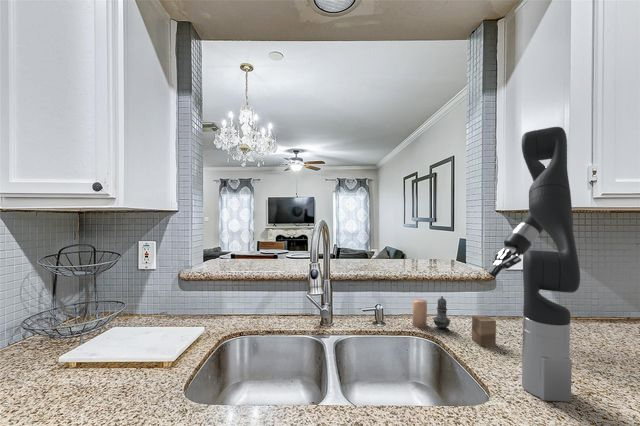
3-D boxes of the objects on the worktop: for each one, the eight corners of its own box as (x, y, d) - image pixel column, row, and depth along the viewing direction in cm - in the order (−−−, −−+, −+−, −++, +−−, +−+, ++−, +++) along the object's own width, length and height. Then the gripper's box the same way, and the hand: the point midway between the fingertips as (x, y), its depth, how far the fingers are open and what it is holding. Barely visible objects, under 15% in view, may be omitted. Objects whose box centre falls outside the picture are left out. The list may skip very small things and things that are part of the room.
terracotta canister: (428, 327, 117) (428, 303, 117) (414, 327, 118) (414, 302, 118) (424, 323, 122) (425, 299, 122) (411, 322, 123) (411, 298, 123)
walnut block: (495, 345, 103) (496, 320, 102) (480, 346, 102) (480, 321, 102) (486, 339, 108) (486, 315, 107) (471, 339, 107) (472, 315, 107)
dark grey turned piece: (447, 334, 112) (448, 299, 112) (430, 330, 115) (431, 296, 115) (452, 328, 117) (452, 295, 116) (435, 325, 120) (436, 292, 120)
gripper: (502, 231, 123) (473, 265, 122) (527, 232, 110) (495, 271, 109) (516, 244, 124) (487, 278, 122) (543, 246, 110) (511, 285, 109)
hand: (491, 275), depth 116 cm, fingers closed
